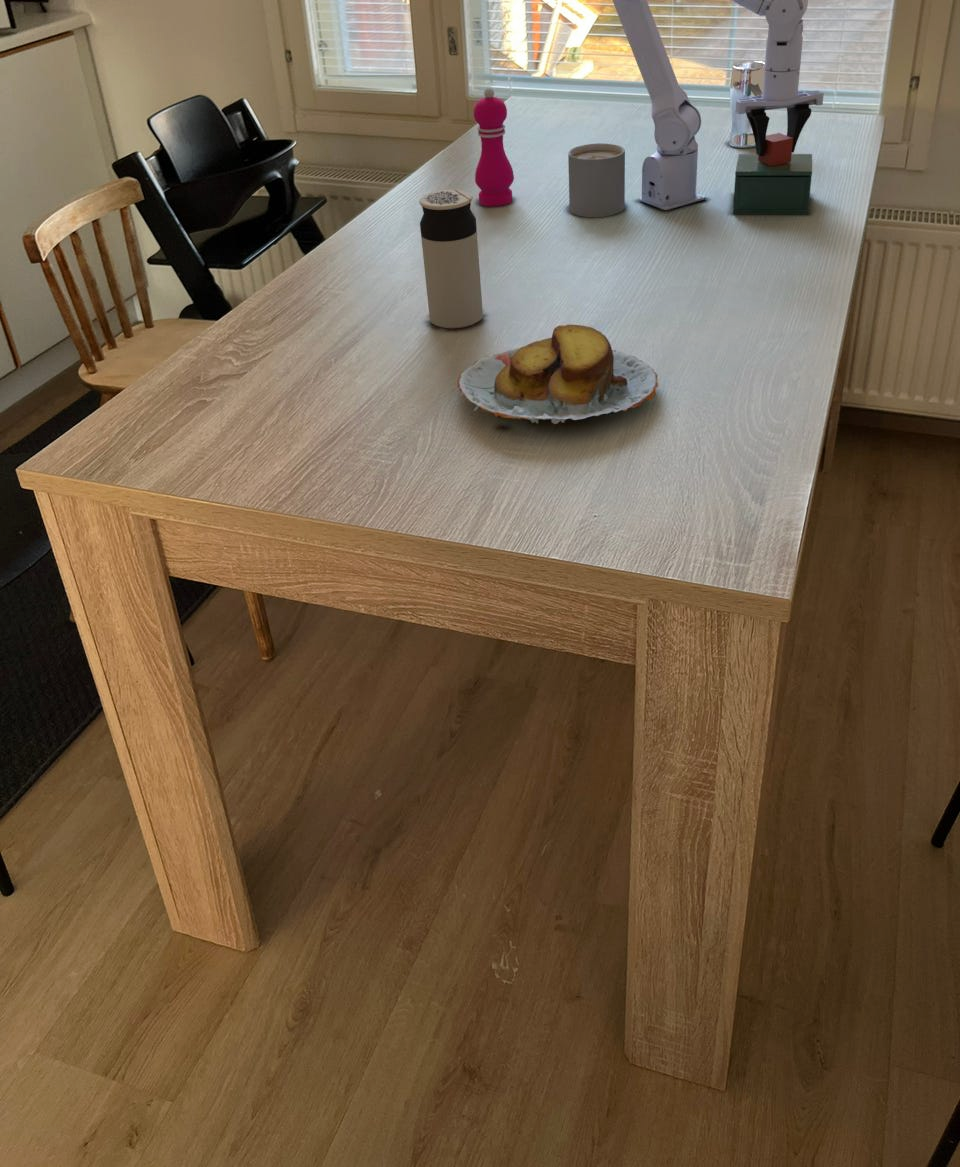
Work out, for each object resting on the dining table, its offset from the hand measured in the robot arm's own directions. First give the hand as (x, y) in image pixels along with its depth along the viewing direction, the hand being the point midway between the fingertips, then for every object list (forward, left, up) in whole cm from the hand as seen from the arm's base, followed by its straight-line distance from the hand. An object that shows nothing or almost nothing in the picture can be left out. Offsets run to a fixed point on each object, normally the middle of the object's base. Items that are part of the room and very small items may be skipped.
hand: (775, 152), depth 193 cm
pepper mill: (-36, +36, -9) cm, 51 cm away
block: (0, 0, -1) cm, 1 cm away
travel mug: (-69, -7, -9) cm, 69 cm away
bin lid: (0, 0, -2) cm, 2 cm away
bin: (0, 0, -9) cm, 9 cm away
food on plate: (-71, -37, -9) cm, 80 cm away
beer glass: (+21, +32, -9) cm, 39 cm away
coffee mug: (-23, +21, -9) cm, 32 cm away
